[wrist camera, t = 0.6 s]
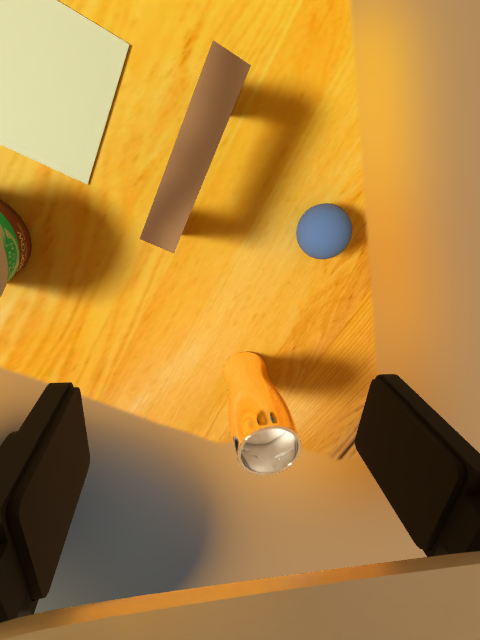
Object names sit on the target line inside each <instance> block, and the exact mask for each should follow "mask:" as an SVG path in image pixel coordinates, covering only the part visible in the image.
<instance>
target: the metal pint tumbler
mask: <svg viewBox="0 0 480 640" xmlns="http://www.w3.org/2000/svg"><path fill="white" fill-rule="evenodd" d="M223 375H224V379H225V381H226V383H227V385H228V387H229V390H230V397H229V425H230V432H231V436H232V440H233V444H234V447H235V451H236V454H237V458H238V462H239V464H240V466H241V467H242V468H243V469H244V470H245V471H247V472H248V473H250V474H253V475H258V476H269V475H273V474H277V473H280V472H282V471H284V470H286V469H287V468H289V467H290V466H291V465H292V464H293V463H294V462H295V461H296V460H297V458H298V457H299V455H300V452H301V440H300V438H299V436H298V432H297V429H296V426H295V423H294V420H293V418H292V415H291V412H290V410H289V408H288V406H287V404H286V402H285V401H284V399H283V398H282V396H281V395H280V393H279V392H278V391H277V389H276V388H275V387H274V386H273V384H272V383H271V382H270V380H269V379H268V377H267V370H266V365H265V362H264V360H263V359H262V358H261V357H260V356H259V355H257V354H255V353H252V352H241V353H238V354H236V355H234V356H232V357H231V358H230V359H229V360H228V361H227V362H226V364H225V366H224V370H223Z"/></svg>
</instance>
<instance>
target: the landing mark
mask: <svg viewBox="0 0 480 640" xmlns="http://www.w3.org/2000/svg"><path fill="white" fill-rule="evenodd" d="M129 46H130V45H129V44H128V43H126V42H125V41H123V40H122V39H120V38H118V37H117V36H115V35H113V34H112V33H110V32H108V31H107V30H105V29H103V28H102V27H100V26H99V25H97V24H95V23H94V22H92V21H90V20H89V19H87V18H85V17H84V16H82V15H80V14H79V13H77V12H76V11H74V10H72V9H71V8H69V7H67V6H66V5H64V4H62V3H61V2H59V1H58V0H0V145H2V146H5V147H7V148H9V149H11V150H13V151H15V152H18V153H20V154H22V155H24V156H26V157H29V158H31V159H33V160H35V161H37V162H39V163H42V164H44V165H46V166H48V167H50V168H53V169H55V170H57V171H59V172H61V173H63V174H66V175H68V176H70V177H72V178H74V179H77V180H79V181H81V182H83V183H85V184H88V182H89V179H90V176H91V172H92V169H93V166H94V162H95V159H96V156H97V152H98V149H99V146H100V142H101V139H102V136H103V132H104V129H105V126H106V122H107V119H108V116H109V112H110V109H111V106H112V102H113V99H114V96H115V92H116V89H117V86H118V82H119V79H120V76H121V72H122V69H123V66H124V62H125V59H126V56H127V52H128V49H129Z"/></svg>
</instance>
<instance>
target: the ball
mask: <svg viewBox="0 0 480 640" xmlns="http://www.w3.org/2000/svg"><path fill="white" fill-rule="evenodd" d="M296 234H297V241H298V243H299V246H300V247H301V249H302V250H303V251H304V252H305V253H306V254H307V255H309V256H311V257H313V258H316V259H329V258H332V257H334V256H336V255H338V254H339V253H341V252H342V251H343V250H344V249H345V248H346V246H347V245H348V243H349V241H350V239H351V235H352V224H351V221H350V218H349V216H348V215H347V213H346V212H345V211H344V210H343V209H342V208H340V207H338V206H336V205H333V204H319V205H316V206H313V207H311V208H310V209H308V210H307V211H306V212H305V213H304V214H303V216H302V217H301V218H300V220H299V223H298V226H297V232H296Z"/></svg>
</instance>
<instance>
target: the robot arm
mask: <svg viewBox="0 0 480 640" xmlns="http://www.w3.org/2000/svg"><path fill="white" fill-rule="evenodd" d="M355 446H356V449H357V451H358V453H359V454H360V456H361V457H362V459H363V461H364V462H365V464H366V465H367V467H368V469H369V470H370V472H371V473H372V475H373V477H374V478H375V480H376V482H377V483H378V485H379V486H380V488H381V489H382V491H383V493H384V494H385V496H386V498H387V499H388V501H389V502H390V504H391V506H392V507H393V509H394V510H395V512H396V514H397V515H398V517H399V519H400V520H401V522H402V523H403V525H404V527H405V528H406V530H407V531H408V533H409V535H410V536H411V538H412V540H413V541H414V543H415V544H416V545H417V546H418V547H419V548H420V549H423V551H424V552H425V554H426V555H427V557H424V558H417V559H409V560H401V561H393V562H385V563H377V564H370V565H362V566H355V567H347V568H339V569H332V570H324V571H317V572H310V573H302V574H294V575H287V576H280V577H272V578H265V579H258V580H250V581H243V582H236V583H228V584H222V585H214V586H207V587H200V588H193V589H186V590H178V591H172V592H164V593H157V594H150V595H143V596H136V597H130V598H124V599H117V600H111V601H105V602H98V603H92V604H86V605H80V606H73V607H67V608H61V609H56V610H52V611H47V612H42V613H37V614H34V612H35V609H36V606H37V603H38V600H39V599H40V598H45V597H46V596H47V594H48V592H49V589H50V586H51V583H52V580H53V577H54V574H55V571H56V568H57V565H58V562H59V558H60V555H61V552H62V549H63V546H64V543H65V540H66V537H67V534H68V530H69V528H70V524H71V521H72V518H73V515H74V512H75V509H76V506H77V503H78V500H79V496H80V493H81V490H82V487H83V484H84V481H85V478H86V475H87V472H88V468H89V464H90V453H89V447H88V440H87V433H86V427H85V419H84V413H83V407H82V399H81V392H80V389H79V388H78V387H73V384H72V383H50V384H48V385H47V387H46V388H45V390H44V392H43V393H42V395H41V396H40V398H39V399H38V401H37V402H36V404H35V406H34V407H33V409H32V410H31V412H30V413H29V415H28V417H27V418H26V420H25V421H24V423H23V424H22V426H21V427H20V429H19V431H16V432H12V433H10V434H9V435H8V436H7V437H6V439H5V440H4V442H3V443H2V445H1V446H0V640H480V453H479V452H478V451H476V450H475V449H474V448H473V447H472V446H471V445H470V444H469V443H468V442H467V441H466V440H465V439H464V438H463V437H462V436H461V435H459V433H458V432H457V431H455V430H454V429H453V428H452V427H451V426H450V425H449V424H448V423H447V422H446V421H445V420H444V419H443V418H442V417H441V416H440V415H439V414H438V413H437V412H436V411H435V410H433V409H432V408H431V407H430V406H429V405H428V404H427V403H426V402H425V401H424V400H423V399H422V398H421V397H420V396H419V395H418V394H417V393H416V392H415V391H414V390H413V389H411V388H410V387H409V386H408V385H407V384H406V383H405V382H404V381H403V380H402V379H401V378H400V377H399V376H397V375H395V374H383V375H378V376H377V377H376V378H375V379H373V380H372V382H371V385H370V388H369V392H368V395H367V399H366V402H365V406H364V409H363V413H362V416H361V420H360V423H359V427H358V431H357V434H356V438H355Z"/></svg>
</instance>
